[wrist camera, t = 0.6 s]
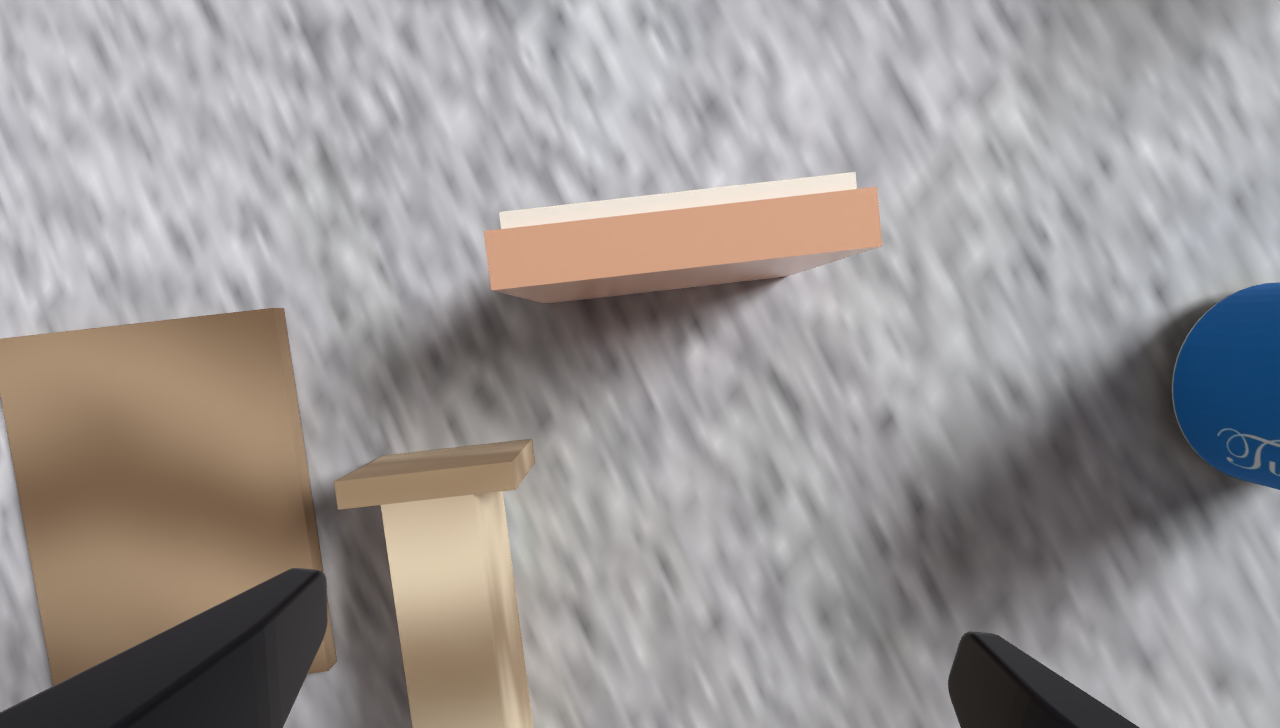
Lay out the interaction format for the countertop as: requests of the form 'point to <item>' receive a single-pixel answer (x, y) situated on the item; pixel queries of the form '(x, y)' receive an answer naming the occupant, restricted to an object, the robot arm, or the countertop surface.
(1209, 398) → the beverage can
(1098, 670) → the countertop surface
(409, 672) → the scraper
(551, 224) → the tile
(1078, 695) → the robot arm
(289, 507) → the trivet
